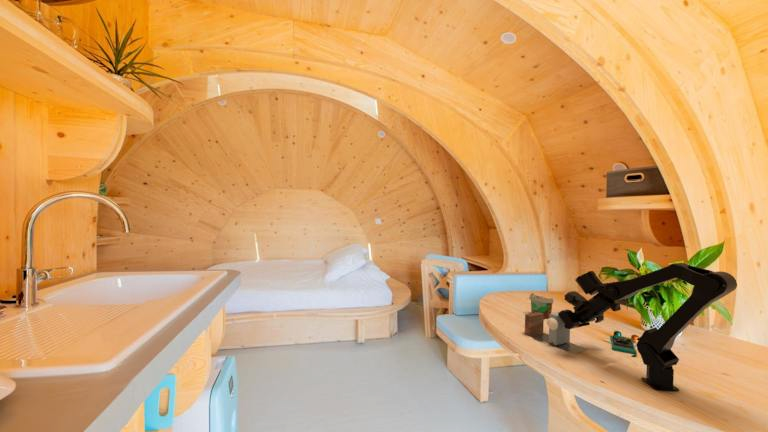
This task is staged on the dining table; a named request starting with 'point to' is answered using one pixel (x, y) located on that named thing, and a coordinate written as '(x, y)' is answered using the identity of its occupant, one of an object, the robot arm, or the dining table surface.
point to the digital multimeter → (623, 345)
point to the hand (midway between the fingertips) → (565, 327)
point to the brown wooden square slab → (534, 323)
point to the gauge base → (565, 346)
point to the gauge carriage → (557, 330)
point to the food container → (541, 305)
